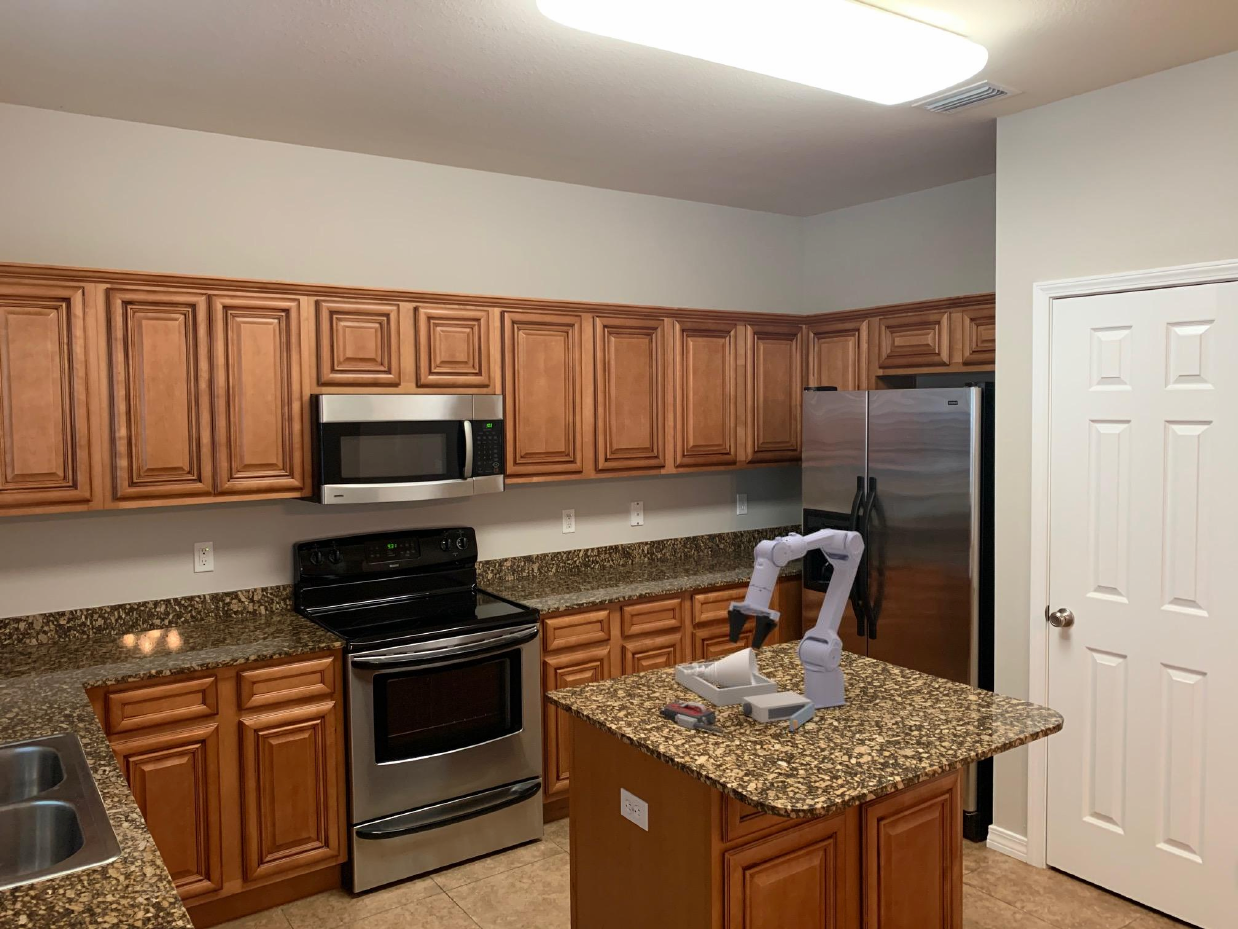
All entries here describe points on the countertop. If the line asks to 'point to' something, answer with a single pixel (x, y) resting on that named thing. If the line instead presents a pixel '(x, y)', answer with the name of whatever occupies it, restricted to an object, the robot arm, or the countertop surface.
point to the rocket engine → (729, 670)
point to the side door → (801, 716)
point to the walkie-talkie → (690, 715)
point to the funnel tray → (723, 695)
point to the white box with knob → (773, 706)
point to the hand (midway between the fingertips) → (743, 645)
